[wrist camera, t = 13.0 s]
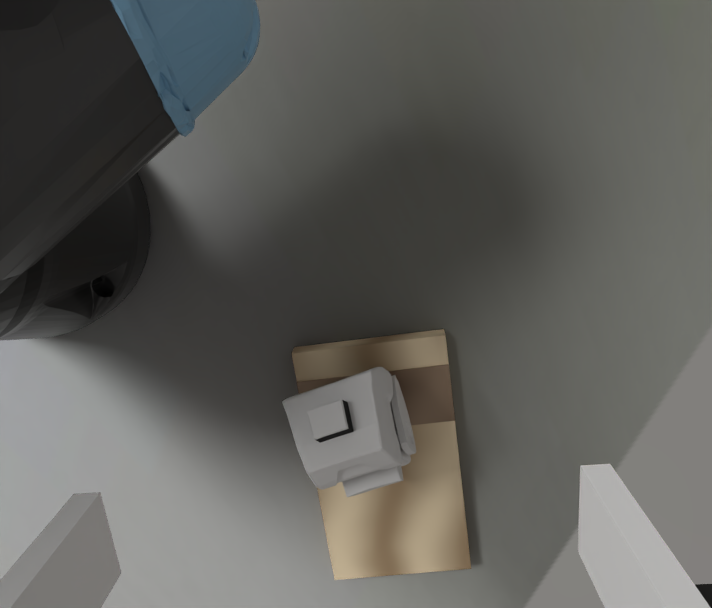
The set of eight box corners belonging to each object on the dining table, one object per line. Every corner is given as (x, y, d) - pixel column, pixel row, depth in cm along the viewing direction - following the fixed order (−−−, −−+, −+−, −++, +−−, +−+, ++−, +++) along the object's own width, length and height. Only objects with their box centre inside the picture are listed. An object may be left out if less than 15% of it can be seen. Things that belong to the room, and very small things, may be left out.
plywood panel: (336, 568, 42) (334, 582, 41) (294, 347, 37) (290, 355, 36) (468, 556, 41) (471, 570, 40) (443, 328, 36) (445, 336, 35)
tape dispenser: (405, 383, 38) (362, 336, 29) (435, 481, 35) (397, 462, 26) (326, 410, 39) (262, 373, 30) (348, 507, 36) (284, 497, 27)
